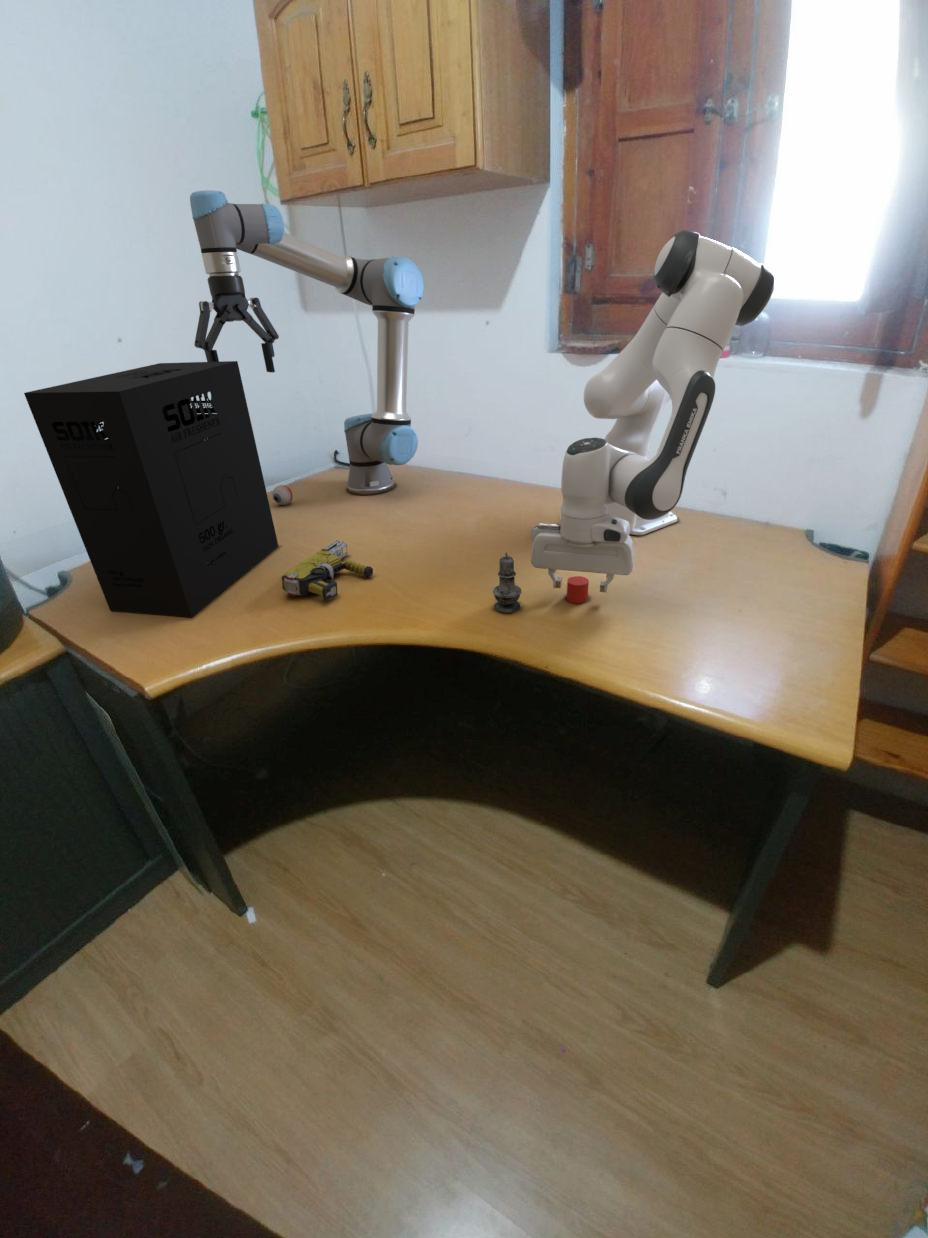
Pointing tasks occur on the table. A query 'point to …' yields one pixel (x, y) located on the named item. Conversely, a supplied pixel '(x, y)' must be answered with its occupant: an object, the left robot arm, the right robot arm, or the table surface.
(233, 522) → the cardboard box
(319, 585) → the toy gun
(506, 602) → the dark grey tapered piece
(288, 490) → the eyeball
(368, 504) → the table surface
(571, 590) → the can
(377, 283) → the left robot arm
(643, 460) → the right robot arm
